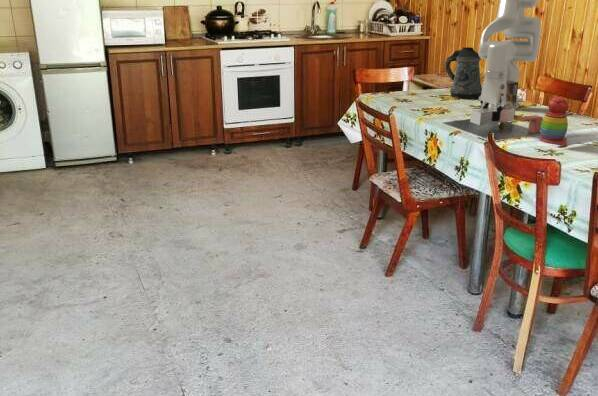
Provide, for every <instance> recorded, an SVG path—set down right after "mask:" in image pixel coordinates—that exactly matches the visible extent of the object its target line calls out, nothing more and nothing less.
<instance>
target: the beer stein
mask: <svg viewBox="0 0 598 396" xmlns="http://www.w3.org/2000/svg"><path fill="white" fill-rule="evenodd" d="M481 59H482V58H480V57H479V53H478V52H477V51H475V50H474V47H469V46H467V47H462V49H459V50H454V52H453V53H452V55H450V56H449V57H447V58H446V59H445V62H444V69H445V71H446V73H447V76H448V77H449V78H450V79H451V80H452V81H453V82H452V85H451V88H450V91H449V93H450V97H451V96H452V97H451V98H453V97H454V98H453V99H457V98H458V100H479V97H480V95H481V93H482V87H483V86H482V84H481V83H482V82H481V76H480V75H481V72H480V71H481V70H480V61H481ZM451 62H457V63H456V69H455V73H453V71H452V69H451V67H450V65H451Z"/></svg>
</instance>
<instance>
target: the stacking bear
mask: <svg viewBox="0 0 598 396" xmlns="http://www.w3.org/2000/svg"><path fill="white" fill-rule="evenodd" d="M547 107H548V111H547V112H546V113H545V114H544V116H543V117H542V123H541V130H540V132H541V134H540V135H541V137H540V138H539V141H540V142H542V143H546V144H550V145H555V146H557V148H562V149H563V148H567V147H568V143H567V141H568V138H566V134H567V131H568V127H569V123H568V115H567V112H568V110H569V109H570V107H571V106H570V104H569V103H568V102H567V101H566V98H564V97H559V95H557V96H554V97H552V98H551V99H550V100H549V102H548V106H547Z"/></svg>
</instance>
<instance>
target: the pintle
mask: <svg viewBox="0 0 598 396" xmlns="http://www.w3.org/2000/svg"><path fill="white" fill-rule="evenodd" d="M498 126H499V127H505V122H499V123H498Z"/></svg>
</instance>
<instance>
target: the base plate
mask: <svg viewBox="0 0 598 396" xmlns="http://www.w3.org/2000/svg"><path fill="white" fill-rule="evenodd" d="M442 124H444V125H447V126H449V127H452V128H455V129H459V130H460V131H461V130H462V131H464V132H467V133H469V134H472V135H475V136H477V137H476V138H477V139H480V140H482V141H485V142H488V139H487V135H488V133H489V132H493V133H494V139H495V141H501V140H502V141H503V140H508V139H513V138H519V137H527V136H528V137H529V136H533V135H541V131H540V132H537V133H533V132H530V131H528V128H529V127H526V126H522V125H518V124H516V123H512V122H510V121H507V122H505V127H499V126H498V123H491V124H484V125H478V124H475V123H472V122H470V118H467V119H459V120H453V121H452V120H451V121H446V122H443V121H442ZM478 136H479V137H478Z"/></svg>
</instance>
